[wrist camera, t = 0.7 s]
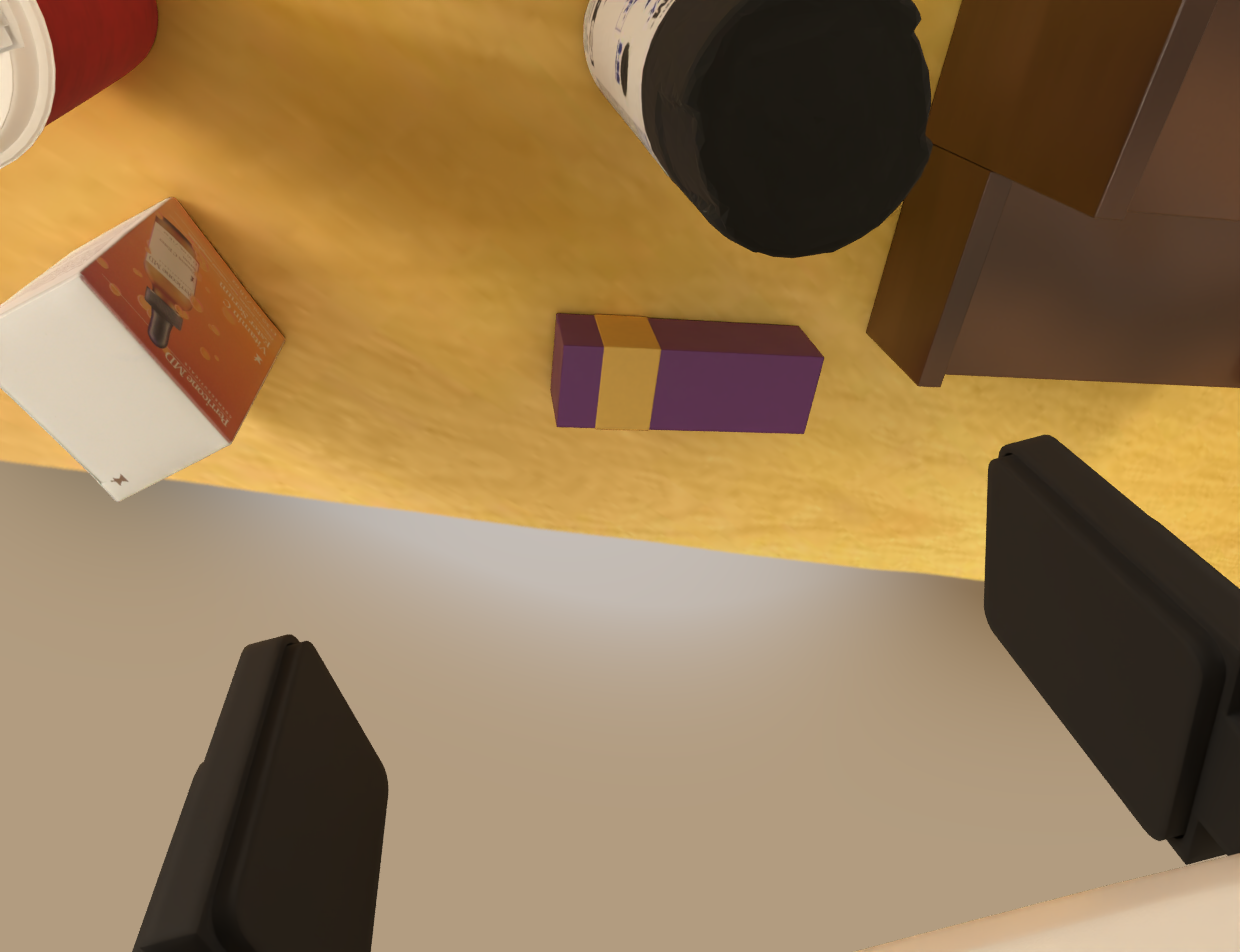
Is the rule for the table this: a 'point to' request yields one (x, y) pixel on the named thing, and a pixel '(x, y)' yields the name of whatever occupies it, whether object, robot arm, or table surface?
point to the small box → (137, 350)
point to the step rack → (1075, 199)
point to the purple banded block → (682, 375)
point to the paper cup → (63, 59)
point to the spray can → (772, 109)
